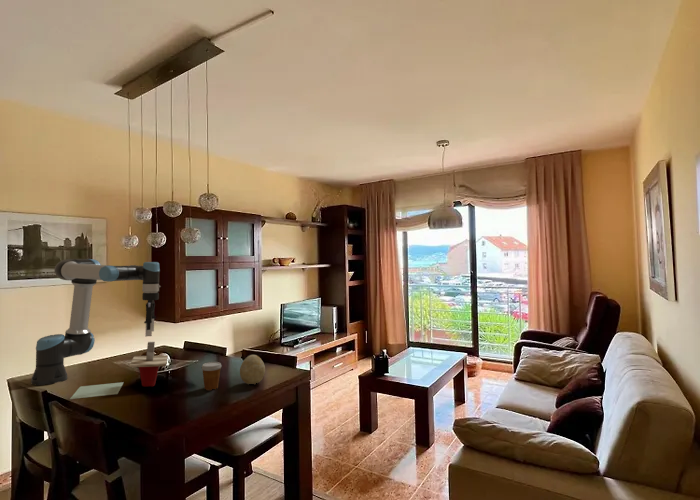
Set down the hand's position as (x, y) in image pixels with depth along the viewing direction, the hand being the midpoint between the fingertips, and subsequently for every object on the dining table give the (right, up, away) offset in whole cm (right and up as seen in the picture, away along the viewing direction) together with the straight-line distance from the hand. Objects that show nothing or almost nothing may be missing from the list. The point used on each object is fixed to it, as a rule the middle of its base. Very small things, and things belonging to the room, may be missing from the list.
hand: (149, 333), depth 198 cm
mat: (-20, -26, -9) cm, 34 cm away
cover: (0, -14, -1) cm, 14 cm away
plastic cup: (0, -27, -1) cm, 27 cm away
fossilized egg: (+52, -27, +2) cm, 58 cm away
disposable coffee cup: (+33, -27, -4) cm, 43 cm away
